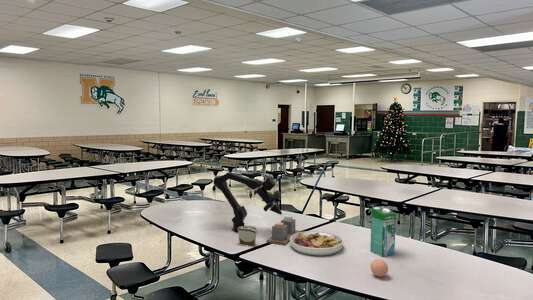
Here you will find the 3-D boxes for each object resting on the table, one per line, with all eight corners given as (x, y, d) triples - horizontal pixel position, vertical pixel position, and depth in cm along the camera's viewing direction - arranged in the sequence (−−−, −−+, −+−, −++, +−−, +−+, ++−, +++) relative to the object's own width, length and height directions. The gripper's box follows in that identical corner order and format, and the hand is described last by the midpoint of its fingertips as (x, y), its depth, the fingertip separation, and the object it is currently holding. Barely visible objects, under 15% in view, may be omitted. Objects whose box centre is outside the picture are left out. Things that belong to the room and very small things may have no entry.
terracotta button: (281, 230, 217) (281, 224, 216) (275, 229, 218) (275, 223, 218) (283, 228, 220) (283, 223, 220) (278, 227, 222) (278, 222, 222)
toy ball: (384, 272, 176) (385, 256, 175) (390, 279, 168) (391, 263, 167) (368, 272, 176) (368, 256, 175) (373, 279, 168) (373, 263, 167)
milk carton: (382, 257, 195) (383, 211, 193) (370, 251, 203) (371, 207, 201) (394, 254, 199) (396, 209, 197) (382, 248, 207) (383, 205, 205)
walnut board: (284, 245, 212) (284, 243, 212) (266, 242, 217) (266, 240, 217) (300, 232, 235) (300, 230, 235) (283, 230, 240) (283, 228, 240)
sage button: (289, 222, 229) (290, 217, 229) (284, 221, 231) (284, 216, 230) (292, 220, 232) (292, 215, 232) (286, 219, 234) (286, 215, 234)
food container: (260, 243, 215) (260, 227, 214) (256, 247, 209) (256, 230, 208) (242, 240, 220) (242, 224, 219) (237, 244, 214) (237, 227, 213)
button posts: (282, 241, 215) (282, 228, 214) (271, 239, 218) (271, 226, 217) (295, 231, 234) (295, 219, 233) (285, 230, 237) (285, 217, 236)
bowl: (312, 235, 231) (312, 223, 230) (353, 247, 209) (353, 234, 209) (279, 247, 210) (279, 234, 209) (321, 262, 189) (321, 247, 188)
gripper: (268, 190, 220) (285, 209, 217) (278, 184, 238) (294, 202, 235) (256, 201, 224) (273, 221, 221) (266, 195, 241) (282, 213, 238)
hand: (281, 214), depth 229 cm, fingers closed
